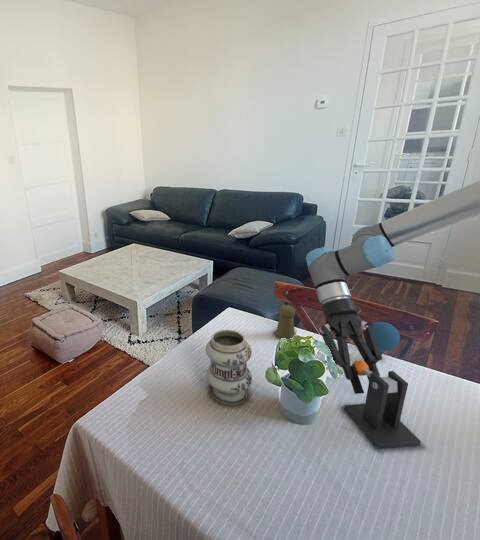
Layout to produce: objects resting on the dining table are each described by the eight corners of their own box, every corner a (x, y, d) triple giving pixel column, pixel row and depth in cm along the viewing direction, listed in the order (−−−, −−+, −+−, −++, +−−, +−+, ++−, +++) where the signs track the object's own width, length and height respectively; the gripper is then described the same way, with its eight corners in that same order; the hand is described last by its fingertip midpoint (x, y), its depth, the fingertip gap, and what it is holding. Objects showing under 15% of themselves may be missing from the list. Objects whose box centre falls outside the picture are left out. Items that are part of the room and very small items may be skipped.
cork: (279, 328, 122) (281, 301, 118) (297, 333, 118) (299, 305, 114) (272, 336, 118) (274, 308, 114) (290, 341, 114) (293, 312, 110)
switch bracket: (344, 408, 85) (350, 363, 80) (380, 405, 85) (389, 359, 80) (377, 449, 74) (388, 398, 69) (420, 445, 73) (433, 395, 69)
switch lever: (348, 372, 86) (348, 359, 86) (363, 371, 86) (362, 357, 85) (384, 395, 74) (383, 380, 74) (401, 394, 74) (400, 379, 73)
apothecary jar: (218, 373, 103) (217, 321, 97) (258, 388, 95) (260, 333, 89) (198, 396, 95) (196, 341, 88) (240, 414, 87) (241, 356, 81)
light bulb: (373, 347, 106) (379, 314, 102) (402, 361, 99) (409, 326, 94) (353, 355, 104) (359, 321, 99) (382, 370, 96) (389, 334, 92)
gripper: (359, 303, 94) (393, 391, 85) (299, 308, 95) (326, 396, 86) (376, 294, 88) (415, 388, 78) (310, 300, 88) (341, 394, 79)
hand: (368, 392), depth 82 cm, fingers closed on switch lever, 4 cm apart
